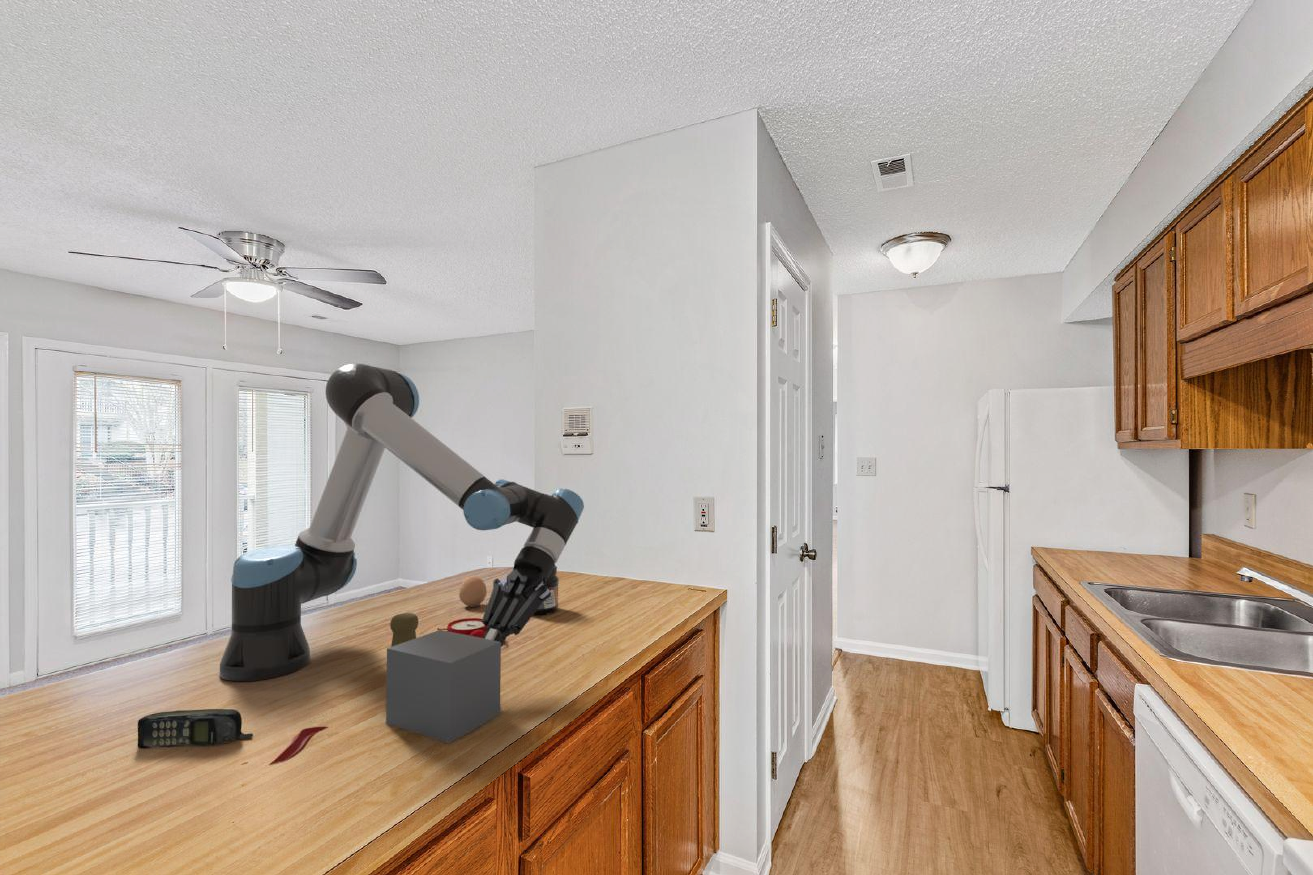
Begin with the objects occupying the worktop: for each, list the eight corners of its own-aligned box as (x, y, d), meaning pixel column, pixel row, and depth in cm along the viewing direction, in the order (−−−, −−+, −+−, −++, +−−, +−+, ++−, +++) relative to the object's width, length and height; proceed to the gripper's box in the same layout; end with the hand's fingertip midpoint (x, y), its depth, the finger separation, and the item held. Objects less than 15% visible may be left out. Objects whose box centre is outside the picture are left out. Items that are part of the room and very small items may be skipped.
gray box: (449, 743, 88) (450, 663, 88) (385, 723, 94) (386, 648, 95) (500, 714, 98) (500, 641, 98) (439, 697, 104) (440, 629, 104)
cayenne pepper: (320, 726, 94) (320, 714, 94) (343, 731, 93) (343, 719, 93) (247, 765, 83) (247, 751, 83) (271, 771, 81) (272, 757, 81)
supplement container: (554, 616, 155) (555, 570, 155) (514, 616, 155) (515, 570, 155) (561, 605, 165) (561, 563, 166) (524, 605, 166) (524, 562, 166)
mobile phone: (133, 719, 86) (244, 711, 87) (148, 710, 89) (255, 702, 90) (133, 753, 86) (244, 745, 87) (148, 743, 89) (255, 735, 90)
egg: (478, 610, 160) (478, 579, 160) (453, 608, 161) (454, 577, 162) (491, 603, 167) (491, 573, 167) (467, 602, 169) (467, 572, 169)
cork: (426, 667, 119) (427, 612, 119) (402, 677, 113) (403, 620, 113) (405, 662, 121) (405, 608, 121) (380, 672, 116) (381, 616, 116)
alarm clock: (464, 616, 143) (511, 609, 136) (468, 642, 142) (516, 637, 135) (430, 627, 133) (479, 621, 127) (434, 655, 133) (484, 651, 126)
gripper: (573, 569, 118) (517, 682, 103) (522, 563, 124) (462, 669, 108) (557, 547, 113) (497, 662, 98) (505, 541, 119) (440, 649, 104)
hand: (478, 666), depth 103 cm, fingers closed
